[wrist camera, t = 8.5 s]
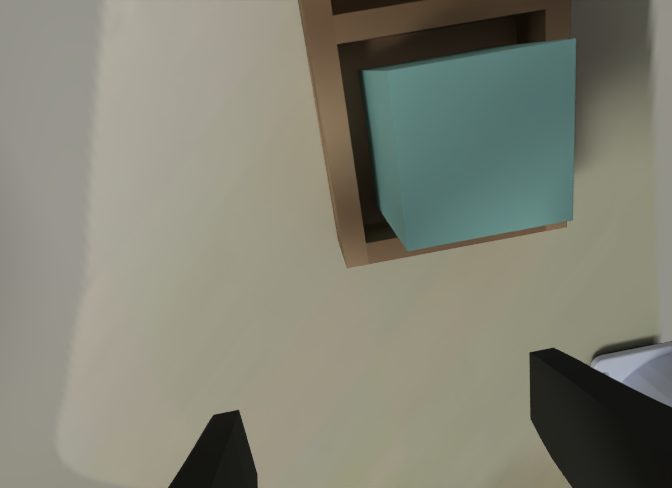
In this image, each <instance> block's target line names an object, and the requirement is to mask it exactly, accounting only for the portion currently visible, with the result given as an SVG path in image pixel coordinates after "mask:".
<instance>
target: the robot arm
mask: <svg viewBox="0 0 672 488" xmlns="http://www.w3.org/2000/svg"><path fill="white" fill-rule="evenodd" d="M530 415H531V421H532V423H533V425H534V426H535V428H536V430H537V432H538V434H539V436H540V438H541V440H542V442H543V443H544V445H545V447H546V449H547V451H548V452H549V454H550V456H551V458H552V459H553V461H554V462H555V463H556V465H557V466H558V468H559V469H560V471H561V472H562V474H563V475H564V476H565V478H566V479H567V481H568V482H569V483H570V485H571V486H572V488H672V341H670V342H666V343H660V344H655V345H650V346H645V347H640V348H635V349H630V350H625V351H620V352H615V353H610V354H605V355H600V356H598V357H596V358H595V359H593V361H592V362H591V366H588V365H587V364H585V363H583V362H581V361H579V360H577V359H575V358H573V357H571V356H569V355H567V354H565V353H563V352H561V351H559V350H557V349H555V348H550V349H545V350H540V351H535V352H530ZM168 488H258V486H257V472H256V468H255V465H254V461H253V457H252V454H251V450H250V447H249V443H248V440H247V436H246V433H245V429H244V426H243V422H242V419H241V415H240V412H239V410H236V411H231V412H226V413H221V414H216V415H213V417H212V418H211V419H210V421H209V423H208V424H207V426H206V428H205V429H204V431H203V433H202V434H201V436H200V438H199V439H198V441H197V443H196V444H195V446H194V448H193V449H192V451H191V453H190V454H189V456H188V458H187V459H186V461H185V462H184V464H183V466H182V467H181V469H180V470H179V472H178V473H177V475H176V476H175V478H174V479H173V481H172V483H171V484H170V486H169V487H168Z"/></svg>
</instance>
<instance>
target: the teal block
mask: <svg viewBox="0 0 672 488" xmlns="http://www.w3.org/2000/svg"><path fill="white" fill-rule="evenodd" d="M358 72H359V80H360V87H361V94H362V102H363V109H364V117H365V124H366V131H367V139H368V146H369V154H370V161H371V168H372V176H373V183H374V191H375V198H376V205H377V207H378V208H379V210H380V211H381V213H382V214H383V216H384V217H385V219H386V220H387V222H388V223H389V225H390V226H391V228H392V229H393V231H394V232H395V234H396V235H397V237H398V238H399V239H400V241H401V242H402V244H403V245H404V247H405V248H406V250H407V251H412V250H417V249H423V248H428V247H433V246H438V245H444V244H449V243H454V242H460V241H465V240H470V239H475V238H481V237H486V236H491V235H497V234H502V233H507V232H512V231H518V230H523V229H528V228H534V227H539V226H544V225H549V224H555V223H560V222H565V221H571V220H573V187H574V131H575V74H576V38H573V39H563V40H554V41H544V42H534V43H524V44H515V45H505V46H495V47H490V48H484V49H478V50H472V51H467V52H461V53H455V54H449V55H444V56H438V57H432V58H426V59H420V60H415V61H409V62H403V63H397V64H392V65H386V66H380V67H374V68H368V69H363V70H358Z"/></svg>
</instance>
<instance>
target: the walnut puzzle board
mask: <svg viewBox="0 0 672 488" xmlns="http://www.w3.org/2000/svg"><path fill="white" fill-rule="evenodd" d="M570 1H571V0H298V3H299V9H300V15H301V21H302V26H303V32H304V38H305V44H306V50H307V56H308V62H309V68H310V74H311V80H312V86H313V92H314V98H315V104H316V110H317V116H318V122H319V128H320V134H321V140H322V146H323V152H324V158H325V164H326V170H327V176H328V182H329V188H330V194H331V200H332V206H333V212H334V218H335V224H336V230H337V236H338V241H339V244H340V248H341V251H342V254H343V257H344V260H345V263H346V267H347V268H350V267H356V266H361V265H366V264H372V263H377V262H382V261H388V260H393V259H399V258H404V257H409V256H415V255H420V254H425V253H431V252H436V251H441V250H447V249H452V248H457V247H463V246H468V245H473V244H479V243H484V242H489V241H495V240H500V239H505V238H511V237H516V236H521V235H527V234H532V233H537V232H543V231H548V230H553V229H559V228H564V227H567V221H565V222H560V223H555V224H549V225H544V226H539V227H534V228H528V229H523V230H518V231H512V232H507V233H502V234H497V235H491V236H486V237H481V238H475V239H470V240H465V241H460V242H454V243H449V244H444V245H438V246H433V247H428V248H423V249H417V250H412V251H407V250H406V248H405V247H404V245H403V244H402V242H401V241H400V239H399V238H398V237H397V235H396V234H395V232H394V231H393V229H392V228H391V226H390V225H389V223H388V222H387V220H386V219H385V217H384V216H383V214H382V213H381V211H380V210H379V208H378V207H377V205H376V198H375V191H374V183H373V176H372V168H371V161H370V154H369V146H368V139H367V131H366V124H365V117H364V109H363V102H362V94H361V87H360V80H359V72H358V70H363V69H368V68H374V67H380V66H386V65H392V64H397V63H403V62H409V61H415V60H420V59H426V58H432V57H438V56H444V55H449V54H455V53H461V52H467V51H472V50H478V49H484V48H490V47H495V46H505V45H515V44H524V43H534V42H544V41H554V40H563V39H570Z"/></svg>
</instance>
